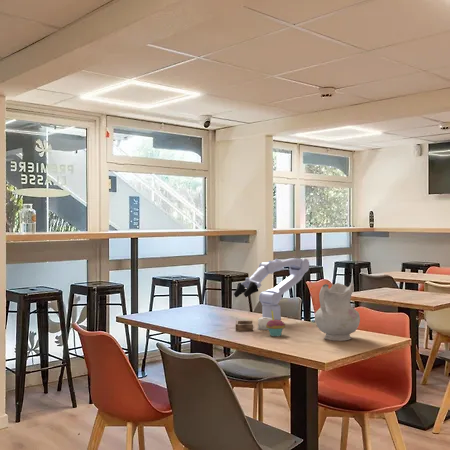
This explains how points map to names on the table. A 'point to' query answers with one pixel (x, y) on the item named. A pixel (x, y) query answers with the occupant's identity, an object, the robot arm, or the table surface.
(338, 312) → the ceramic pitcher
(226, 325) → the table surface
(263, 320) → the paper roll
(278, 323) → the cupcake
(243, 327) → the holder
